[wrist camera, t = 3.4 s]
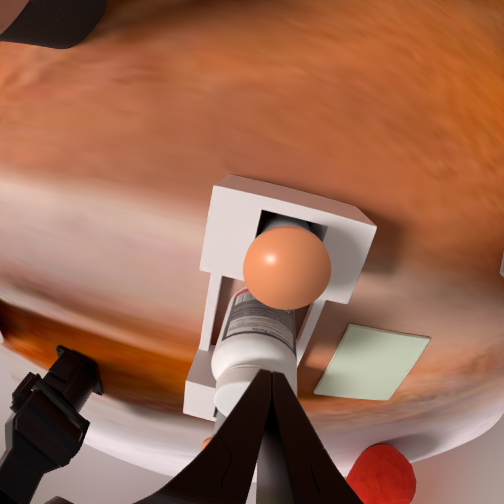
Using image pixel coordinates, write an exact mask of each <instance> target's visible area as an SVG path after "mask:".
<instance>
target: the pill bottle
mask: <svg viewBox="0 0 504 504" xmlns="http://www.w3.org/2000/svg"><path fill="white" fill-rule="evenodd" d="M211 367H212V373H213V375H214V378H215V379H216V381H217V383H216V389H215V394H214V403H215V406H216V407H217V409H218V410H219V411H220V412H221V413H222V414H223V415H225V416H226V417H228V415H229V414H230V412H231V411H232V409H233V408H234V406H235V405H236V404H237V402H238V401H239V399H240V398H241V396H242V395H243V393H244V392H245V390H246V389H247V387H248V386H249V384H250V383H251V381H252V380H253V378H254V377H255V375H256V373H257V372H258V370H259V369H265V370H270V371H271V372H272V371H276V372H281V373H284V374H285V376H286V378H287V380H288V382H289V384H290V385H291V384H292V382H293V381H294V379H295V376H296V371H297V354H296V333H295V312H294V309H292V310H282V309H276V308H272V307H269V306H267V305H265V304H263V303H261V302H260V301H259V300H257V299H256V298H255V297H254V296H253V295H252V294H251V292H250V291H249V289H248V288H247V286H245V287H243V288H241V289H240V290H238V291H237V292H236V293H235V294H234V295H233V297H232V298H231V300H230V303H229V305H228V308H227V312H226V314H225V317H224V321H223V325H222V328H221V331H220V334H219V338H218V341H217V343H216V346H215V349H214V352H213V356H212V362H211Z"/></svg>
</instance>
